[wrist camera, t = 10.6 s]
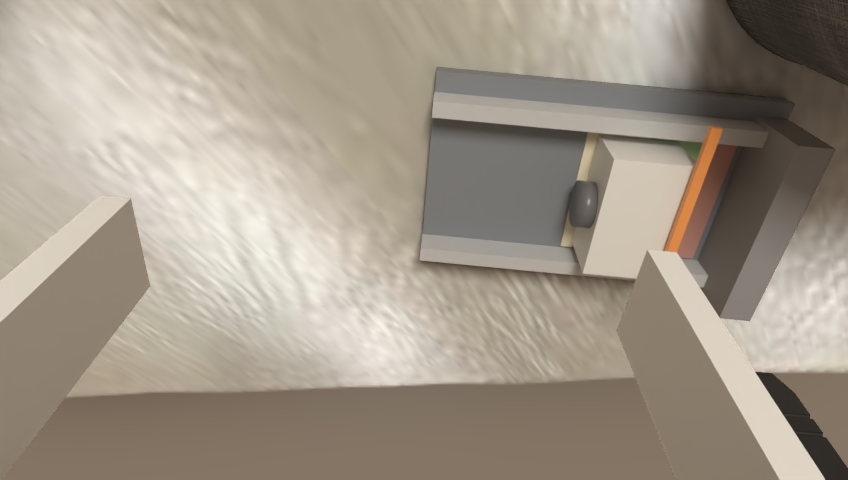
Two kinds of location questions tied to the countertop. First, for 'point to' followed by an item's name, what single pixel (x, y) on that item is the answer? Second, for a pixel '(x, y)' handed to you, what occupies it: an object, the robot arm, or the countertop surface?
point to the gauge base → (572, 158)
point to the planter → (800, 31)
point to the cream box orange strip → (635, 201)
